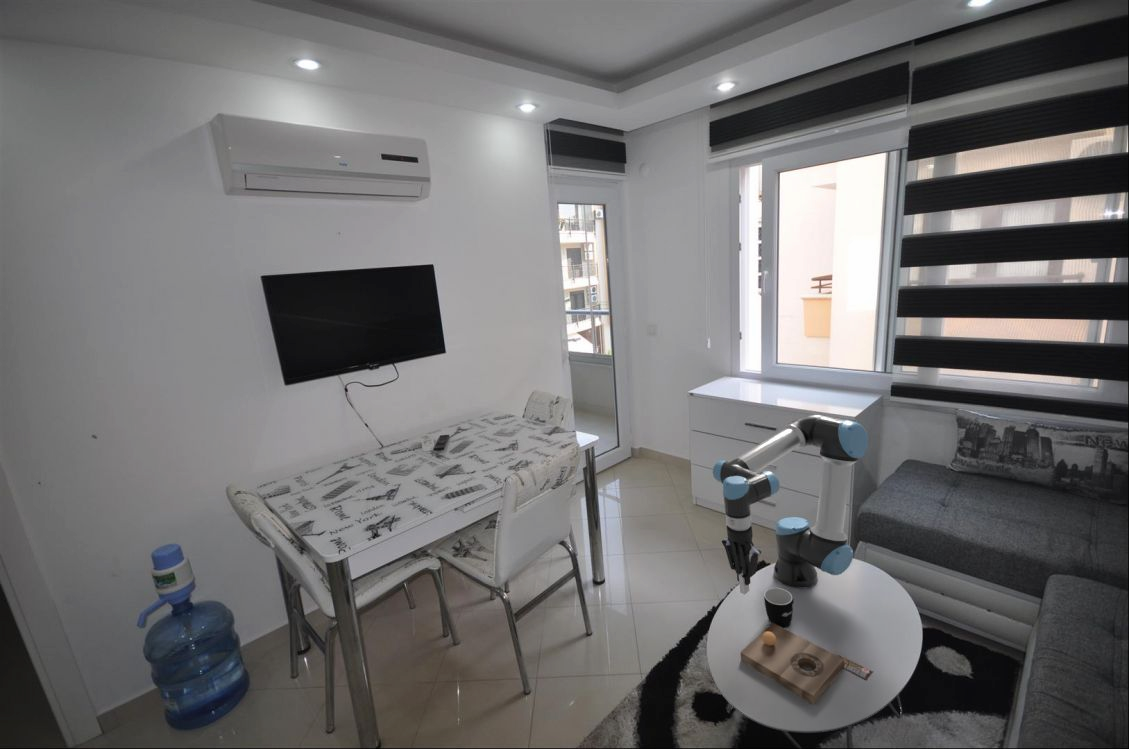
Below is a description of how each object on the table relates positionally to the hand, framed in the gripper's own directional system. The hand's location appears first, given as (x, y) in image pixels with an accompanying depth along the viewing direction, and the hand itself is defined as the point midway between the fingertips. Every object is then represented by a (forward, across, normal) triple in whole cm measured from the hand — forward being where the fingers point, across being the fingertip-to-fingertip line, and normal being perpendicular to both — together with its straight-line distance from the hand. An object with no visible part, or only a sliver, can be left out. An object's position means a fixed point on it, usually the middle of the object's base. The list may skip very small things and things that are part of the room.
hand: (744, 591), depth 160 cm
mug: (+19, +3, +16) cm, 24 cm away
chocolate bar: (+19, +28, +11) cm, 35 cm away
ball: (+13, +8, 0) cm, 15 cm away
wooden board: (+18, +14, 0) cm, 23 cm away
